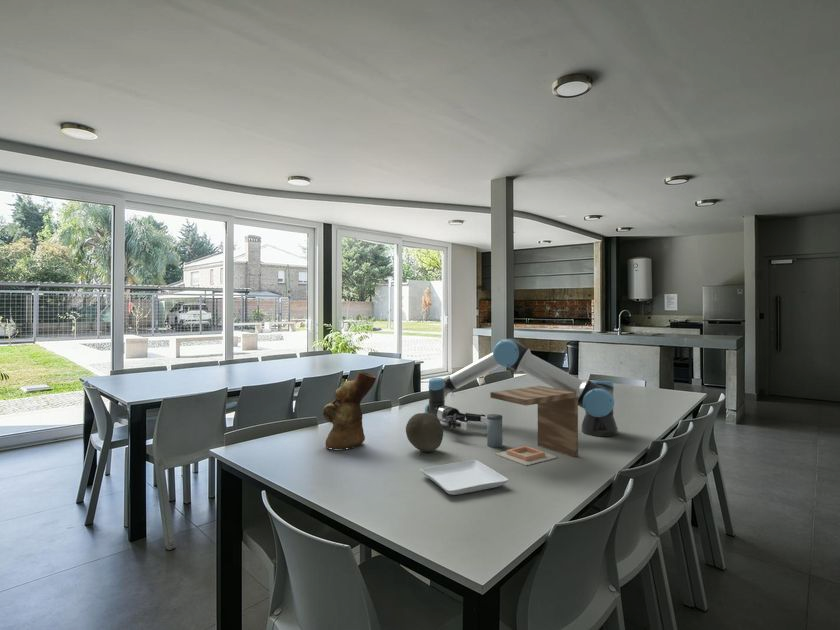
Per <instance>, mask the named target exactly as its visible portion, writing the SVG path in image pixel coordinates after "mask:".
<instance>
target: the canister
mask: <svg viewBox="0 0 840 630" xmlns="http://www.w3.org/2000/svg"><path fill="white" fill-rule="evenodd" d="M486 417H487V424H486V429H487V430H486V431H487V432H486V435H487V438H486V439H487V441H486V442H487V447H489V448H493V447H494V448H493V449H495V448H496V449H497V448H498V447H499V448H502V447H503V415H501V414H498V413H495V414H494V413H490V414H486ZM499 448H498V449H499Z"/></svg>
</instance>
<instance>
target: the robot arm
mask: <svg viewBox="0 0 840 630" xmlns="http://www.w3.org/2000/svg"><path fill="white" fill-rule="evenodd" d="M499 367H504V368H509V369H511V370H513V371H515V372H517V373H518V372H523V373H525V374H527V375H530V376H531V377H532V378H534V379H536V380H538V381H539V382H542V383H544V384H545V385H547V386H549V387H550V388H555V389H561V390H567V391H572V392H576V397H578V407H579V408H581V409H583V410H584V411H585V414H584V418H583V419H582V420H583V421H582V424H581V432H582V433H583V434H585V435H590V436H596V437H614V436H615V437H616V436H617V435H618V434H619V428H618V426H617V422H616V420H615V416H614V408H615V407H614V406H615V398H614V388H615V387H614V382H613V381H610V380H591V379H590V380H589V379H585V380H582V379H580V378H577V377H576V376H574V375H572V374H570V373H568V372H566V371H565V370H563V369H561V368H559V367H557V366H555V365H554V364H552V363H550V362H548V361H546V360H544V359H542V358H540V357H538V356H536V355H534V354H532V352H531V349H530V348H529V347H526V346H524V344H523V343H522V342H521V340H519V339H517V338H514V337H511V338H505V339H501V340H499V341H498V342H497V343H496V344H495V346H493V351H492V352H491V353H488V354H486V355H485V356H483V357H481V358H479V359H478V360H475V361H474V362H471V363H470V364H468V365H467V366H465V367H463V368H461V369H459V370H457V371H456V372H454V373H452V374H450V375H449V376H446V377H444V378H443V377H442V378H441V377H433V378H432V377H431V378H430V379H429V380H428V403H427V404H426V405H425V407H424V413H431V414H433V415H434V416H436V417H437V418H438V419H439V421H440V422H443V423H444V424H446V425H447V427H449V428H451V427H452V429H456V428H458V429H461V430H464V431H468V422H480V423H481V424H485V425H487V416H486V414H483V413H482V414H480V413H479V414H478V413H470V412H465V413H463V412H460V411H459V409H458V408H455V407H451V406H449V405H446V403H445V402H446V400H445V399H446V395H448V394H451V393H453V392H454V391H456V390H457V389H460V388H461V387H463V386H465V385H467V384H470V383H471V382H473V381H475V380H477V379H478V378H480V377H482V376H484V375H486V374H488V373H490V372H492V371H494V370H495V369H497V368H499Z"/></svg>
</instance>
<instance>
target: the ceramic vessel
mask: <svg viewBox="0 0 840 630" xmlns="http://www.w3.org/2000/svg"><path fill="white" fill-rule="evenodd" d="M376 380H377V377H376V376H374V375H372V374H370V373H368V372H365V371H362V370H361V371H360V370H359V371H358V372H357V374H356V376H355V378H354V379H353V380H345V378H342V379H341V380H340V381H341V382H340V386H339V387H338V388H337V389H336V390H335V392H334V394H335V397H334V398H335V399H333V400H332V401H331V402H330V403H328V404H326V405H324V407H323V410H322V416H323V418H324V419H325V421H327V422H328V423H331V424H332V428H331V430H330V431H329V432H328V435H327V437H326V440H325V448H327V447H328V448H332V449H346V448H352V449H354V448H353V447H355V448H357V447H359V446H361V445H362V444H363V443H364V442H365V440H366V436H365V432H364V428H363V427H364V425H363V410H362V408H361V402H362V400H363V399H364V398H365V396H367V394H368V393H369V392H370V390H371V389H372V388H373V387H374V385H375V382H376ZM338 403H339V404H338ZM356 446H357V447H356ZM328 448H327V449H328Z"/></svg>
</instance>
